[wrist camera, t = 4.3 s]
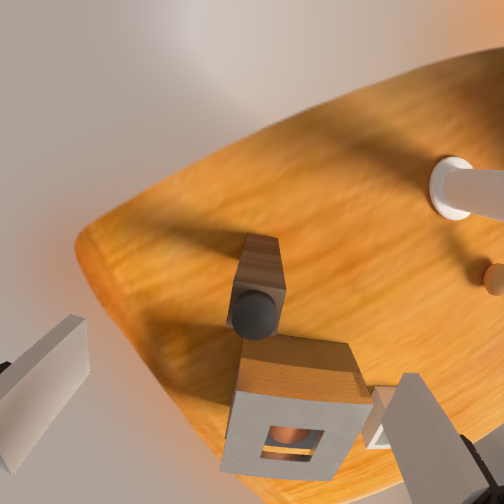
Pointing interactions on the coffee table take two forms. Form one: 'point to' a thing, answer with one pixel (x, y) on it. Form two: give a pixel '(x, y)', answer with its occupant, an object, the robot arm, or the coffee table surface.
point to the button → (288, 434)
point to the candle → (466, 190)
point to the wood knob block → (257, 289)
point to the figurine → (495, 279)
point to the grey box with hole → (294, 407)
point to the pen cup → (377, 419)
